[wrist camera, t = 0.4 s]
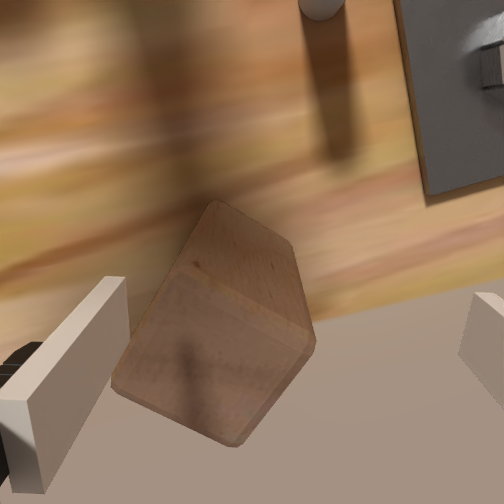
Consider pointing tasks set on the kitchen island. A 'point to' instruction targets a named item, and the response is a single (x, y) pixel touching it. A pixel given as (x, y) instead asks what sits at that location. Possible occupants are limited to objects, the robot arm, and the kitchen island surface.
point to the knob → (320, 8)
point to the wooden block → (221, 330)
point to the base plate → (455, 88)
